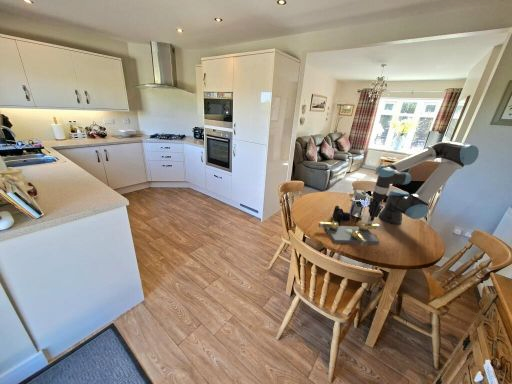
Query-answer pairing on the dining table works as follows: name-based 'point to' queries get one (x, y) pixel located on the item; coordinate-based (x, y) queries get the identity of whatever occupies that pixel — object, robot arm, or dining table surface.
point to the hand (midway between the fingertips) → (369, 223)
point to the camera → (340, 215)
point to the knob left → (358, 237)
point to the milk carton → (354, 206)
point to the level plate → (345, 235)
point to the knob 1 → (329, 225)
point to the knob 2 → (368, 226)
